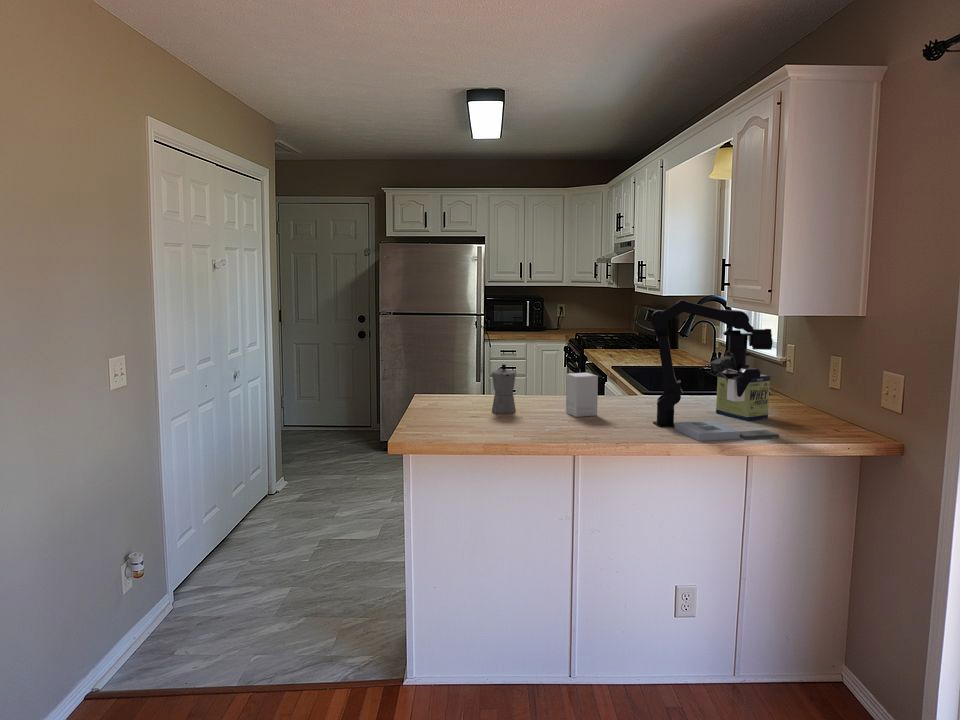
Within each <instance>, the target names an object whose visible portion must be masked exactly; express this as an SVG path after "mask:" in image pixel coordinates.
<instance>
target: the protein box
mask: <svg viewBox="0 0 960 720" xmlns="http://www.w3.org/2000/svg"><path fill="white" fill-rule="evenodd" d="M720 373H722V372H717V384H716V385H717V386H716V402H715V403H716V404H715V405H716V407H715V414H719V415H722V416H727V417H730V418H733V419H738V420H740V421H744V420H745V422H749V421H756V420H757V419H759V420H764V419H763V418H768V419H769V409H770V408H769V407H770V405H769V404H770V388H771V375H768V374H767V375H766V374H761V377H760V378H753V379H752V380H751V381H750V382H749V384H748V385H747V387H746V389H745V400H744V401H731V400H728V399H727V385H728V384H727V381H726V378H725V377H724V376H723V375H721V374H720ZM757 421H758V420H757Z"/></svg>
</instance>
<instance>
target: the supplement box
mask: <svg viewBox="0 0 960 720" xmlns="http://www.w3.org/2000/svg"><path fill="white" fill-rule="evenodd" d="M565 376H566V379H565V380H566V384H565V387H566V388H565V389H566V390H565V391H566V392H565V395H566V396H565V399H566V400H565V413H566V414H569V415H571V416H572V417H576V418H580V417H595V416H598V399H599V398H598V394H599V393H598V392H599V390H598V389H599V388H598V386H599V375H596V374H592V373H590V372H574V373H572V372H571V373H570V372H569V373H566V375H565Z"/></svg>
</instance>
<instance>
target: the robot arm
mask: <svg viewBox="0 0 960 720" xmlns="http://www.w3.org/2000/svg"><path fill="white" fill-rule="evenodd" d="M682 313H685V314H686V313H687V314H690V315H695V316H698V317H703V318H707V319H709V320H710V319H712V320H715V321H718V322H721V323H723V324H725V325H727V326H730V327H731V328H735V329H736V330H734V329H730V327H728V328H727V329H726V330H725V331H723V332H722V335H724V336H728V350H727V351H725V352H724V356H722V357H719V358H716V359H714V360H712V361H711V362H710V364H711V367H712V370H713V372H717V373H718V372H722V373H720V374H721V375H723V376H724V377H725V378H726V381H727V384H728V379H733V378H734V379H735V380H736V381H737V395H738V397H741V396H742V394H743V392H744V391H745V389H746V387H747V385H748V384H749V382H750V381H751V380H752V379H753V378H760V377H761V375H762V371H761V370H760V369H759V368H756V367H750V365H749V364H747V357H748V356H749V357H750V352H748V346H749V347H751V349H752V350H760V351H761V350H764V351H765V350H767V351H768V350H772V348H773V337H772V336H773V335H772V334H773V333H772V329H771V328H764V329H761V328H759V329H758V328H754V327H753V326H752V325H751V323H750V318H749V315H748V314H747V313H746V312H744V311H742V310H737V309H734V310H733V309H720V308H715V307H713V306H708V305H704V304H699V303H695V302H690V301H687V300H685V299H680V300H678V301H677V302H676V303H674V304H672V305H670V306H668V307H666V308H665V309H663V310H662V309H657V310H655V311H654V312H653V313H652V314H651V316H650V323H651V325H652V328H653V332H654V334H655V336H656V340H657V344H658V352H659V357H660V363H661V369H662V374H663V375H662V376H663V391H662V392H663V393H662V394H661V395H660V396H658V398H657V399H656V421H652V424H654V425H655V426H658V427H660V428H663V427H664V428H666V427H667V428H668V427H675V405H677V404H678V403H680V402H681V399H682V398H681V397H682V395H683V394H684V392H683V389H682V387H681V386H682V382H681V379H679V380H677V378H676V375H675V371H674V365H673V360H672V359H673V358H672V353H671V352H672V351H671V346H670V345H671V344H670V340H669V321H671V320H672V319H674V318H675V317H678V316H679V315H680V314H682ZM741 330H744V331H745V332H746V333H744V332H743V333H742V331H741Z"/></svg>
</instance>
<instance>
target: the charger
mask: <svg viewBox="0 0 960 720" xmlns="http://www.w3.org/2000/svg"><path fill="white" fill-rule="evenodd" d="M727 399H728V400H731V401H744V400H745V391H744V392H743V394H742V396H741V397H738V395H737V381H736V380H735V379H734V378H733V379H728V385H727Z"/></svg>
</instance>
